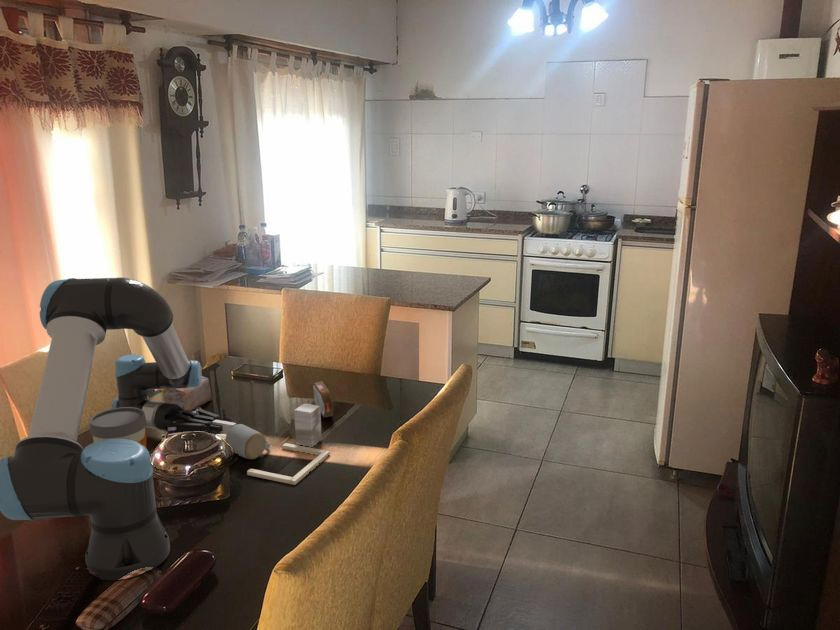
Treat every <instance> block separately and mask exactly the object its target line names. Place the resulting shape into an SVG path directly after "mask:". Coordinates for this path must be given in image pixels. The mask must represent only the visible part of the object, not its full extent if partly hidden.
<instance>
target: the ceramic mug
mask: <svg viewBox="0 0 840 630" xmlns="http://www.w3.org/2000/svg"><path fill="white" fill-rule="evenodd" d="M225 441H226V442H227V443H228V444H229V445H230V446H231V447H232V448H234V449H235V450H236V451H238V453H239V455H238V456H240V457H242V458H244V459H248V460H255V459H257V458H260V457H261V455H262V454H263V453H264V451H265V450H269V449H270V447H271V443H270V442H269V441H267V440H266V438H265V435H264V434H263V433H261V432H260V431H257V430H256V429H254V428H251V427H249V426H247V425H245V424H243V423H238V424H237V423H236V425H235V426H233V427H232V428H231V429H230V430H229V432H228V433H227V434H226V436H225V439H224V442H225Z"/></svg>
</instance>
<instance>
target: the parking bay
mask: <svg viewBox="0 0 840 630" xmlns="http://www.w3.org/2000/svg"><path fill="white" fill-rule="evenodd" d="M281 448H282V450H288V451H292V450H293V451H294V452H297V451H299V452H298V453H302V452H305V453H304V454H307V453H310V454H309V455H313V454H315V455H314V456H316V457H315V458H314V459H313V460H312V461H310V462H309V463H307V465H306V466H304V467H303V468H301V470H299V471H298V472H297V473H296V474H295V475H294V476H290V475H289V476H288V475H283V474H280V473H274V472H269V471H264V470H260V469H255V468H249V469H248V470H246V475H247V476H251V477H256V478H259V479H260V478H261V479H265V480H270V481H275V482H280V483H283V484H284V483H285V484H287V485H288V484H289V485H294V486H296V485H297V484H298V483H299V482H300V481H301V480H303V479H304V478H305V477H306V476H307V475H309V474H310V473H311V472H312V471H313V470H314V469H315V468H317V467H318V466H319V465H320V464H321V463H322V462H323V460H324V459H325V458H326V457H327V456H328V455H329V454H330V455H331V451H330V450H325V449H320V448H314V447H313V448H311V447H305V446H300V445H296V444H293V443H287V442H285V443H283V444H282V445H281ZM318 455H319V456H318ZM330 455H329V456H330ZM329 456H328V457H329ZM328 457H327V458H328ZM327 458H326V459H327ZM326 459H325V460H326ZM325 460H324V461H325ZM319 463H320V464H319ZM316 466H317V467H316ZM310 471H311V472H310ZM309 472H310V473H309Z"/></svg>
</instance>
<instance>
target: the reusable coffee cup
mask: <svg viewBox="0 0 840 630" xmlns="http://www.w3.org/2000/svg"><path fill="white" fill-rule="evenodd" d="M146 425H147V422H146V418H145V414H144V411H143V410H141V409H139V408H134V407H121V408H114V409H111V408H109V409H106V410H103V411H101V412H98V413H96V414H94V415H93V416H91V418H90V420H89V434H90V436H92V438H93V441H92V443H94V442H97V441H100V442H102V441H103V440H106V439H127V440H132V441H136V442H138V443H140V444H141V445H143V446H144V447H146V448H147V441H148V440H147V436H148V434H147V432H146V427H145V426H146Z"/></svg>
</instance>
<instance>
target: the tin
mask: <svg viewBox="0 0 840 630" xmlns="http://www.w3.org/2000/svg"><path fill="white" fill-rule="evenodd" d="M312 389H313V400H314V403H315V404H314V405H317V406H320V413H321V416H322V418H324V419H325V418H329V417H333V415H334V405H333V401H332V396H331V393H330V391H329V389H328V388H327V386H326V385H325V384H324V382H323V381H322V380H320V381H317V382H314V383H312Z"/></svg>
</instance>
